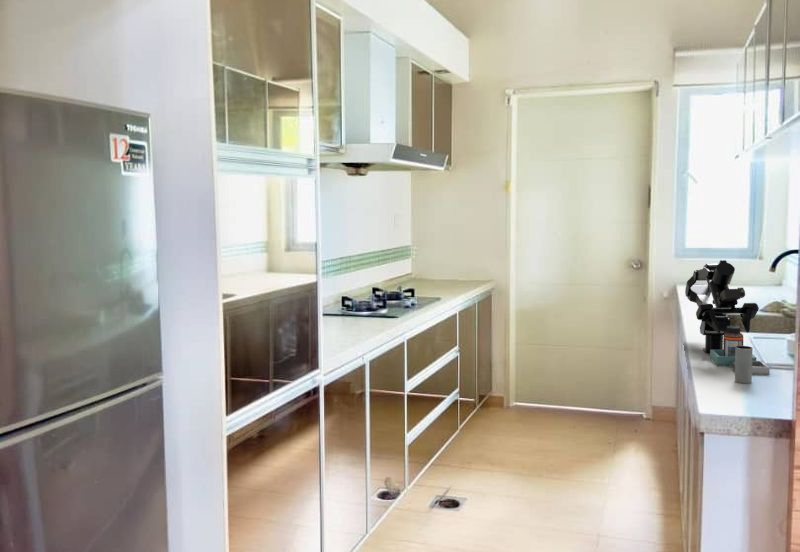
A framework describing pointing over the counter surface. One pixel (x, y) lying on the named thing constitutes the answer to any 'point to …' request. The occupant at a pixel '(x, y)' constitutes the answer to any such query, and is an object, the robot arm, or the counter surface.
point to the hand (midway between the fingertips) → (733, 332)
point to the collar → (755, 367)
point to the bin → (722, 358)
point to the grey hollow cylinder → (743, 364)
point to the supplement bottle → (732, 340)
